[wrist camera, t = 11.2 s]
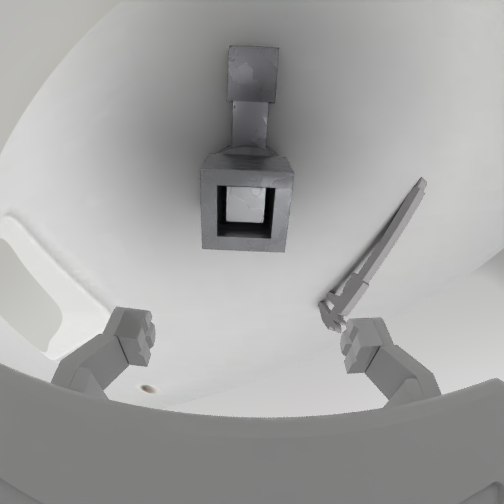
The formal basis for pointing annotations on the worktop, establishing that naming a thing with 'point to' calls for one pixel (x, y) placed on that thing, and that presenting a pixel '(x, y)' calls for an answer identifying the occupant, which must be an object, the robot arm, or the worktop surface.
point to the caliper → (370, 263)
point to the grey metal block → (253, 175)
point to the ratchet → (249, 123)
